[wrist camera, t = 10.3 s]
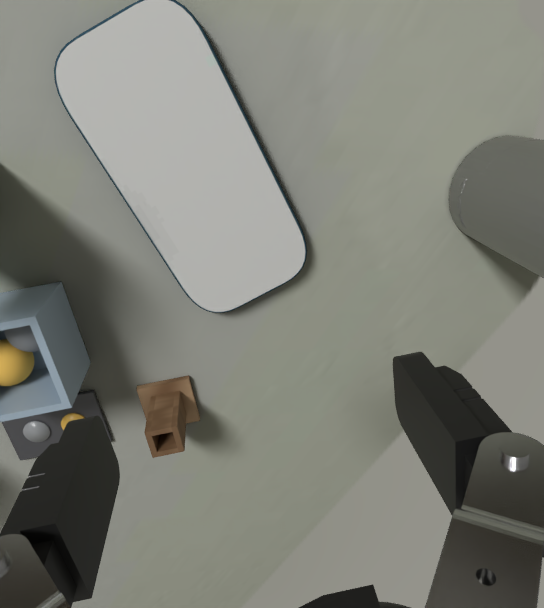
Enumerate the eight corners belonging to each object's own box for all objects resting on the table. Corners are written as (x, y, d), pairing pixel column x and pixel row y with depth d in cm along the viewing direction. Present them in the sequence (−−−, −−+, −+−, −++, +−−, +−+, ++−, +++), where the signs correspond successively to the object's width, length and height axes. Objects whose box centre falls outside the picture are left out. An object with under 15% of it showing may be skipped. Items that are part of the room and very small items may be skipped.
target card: (93, 389, 46) (92, 393, 45) (112, 439, 48) (111, 443, 48) (-2, 408, 46) (-5, 412, 45) (21, 457, 48) (19, 461, 47)
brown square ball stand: (188, 375, 47) (186, 413, 41) (200, 416, 49) (199, 458, 43) (137, 385, 46) (128, 425, 41) (150, 427, 48) (143, 469, 43)
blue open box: (61, 281, 41) (35, 316, 35) (90, 362, 45) (71, 407, 38) (-36, 299, 41) (-81, 338, 35) (1, 380, 44) (-33, 428, 38)
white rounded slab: (315, 258, 44) (320, 266, 42) (204, 317, 45) (204, 326, 43) (178, -19, 34) (177, -25, 32) (40, 62, 35) (31, 61, 33)
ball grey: (53, 293, 42) (43, 305, 38) (67, 336, 43) (59, 352, 39) (5, 304, 41) (-11, 317, 37) (20, 347, 42) (7, 364, 38)
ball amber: (-4, 362, 38) (-15, 399, 39) (47, 356, 41) (35, 391, 42) (-21, 330, 40) (-31, 367, 41) (28, 327, 43) (17, 362, 44)
